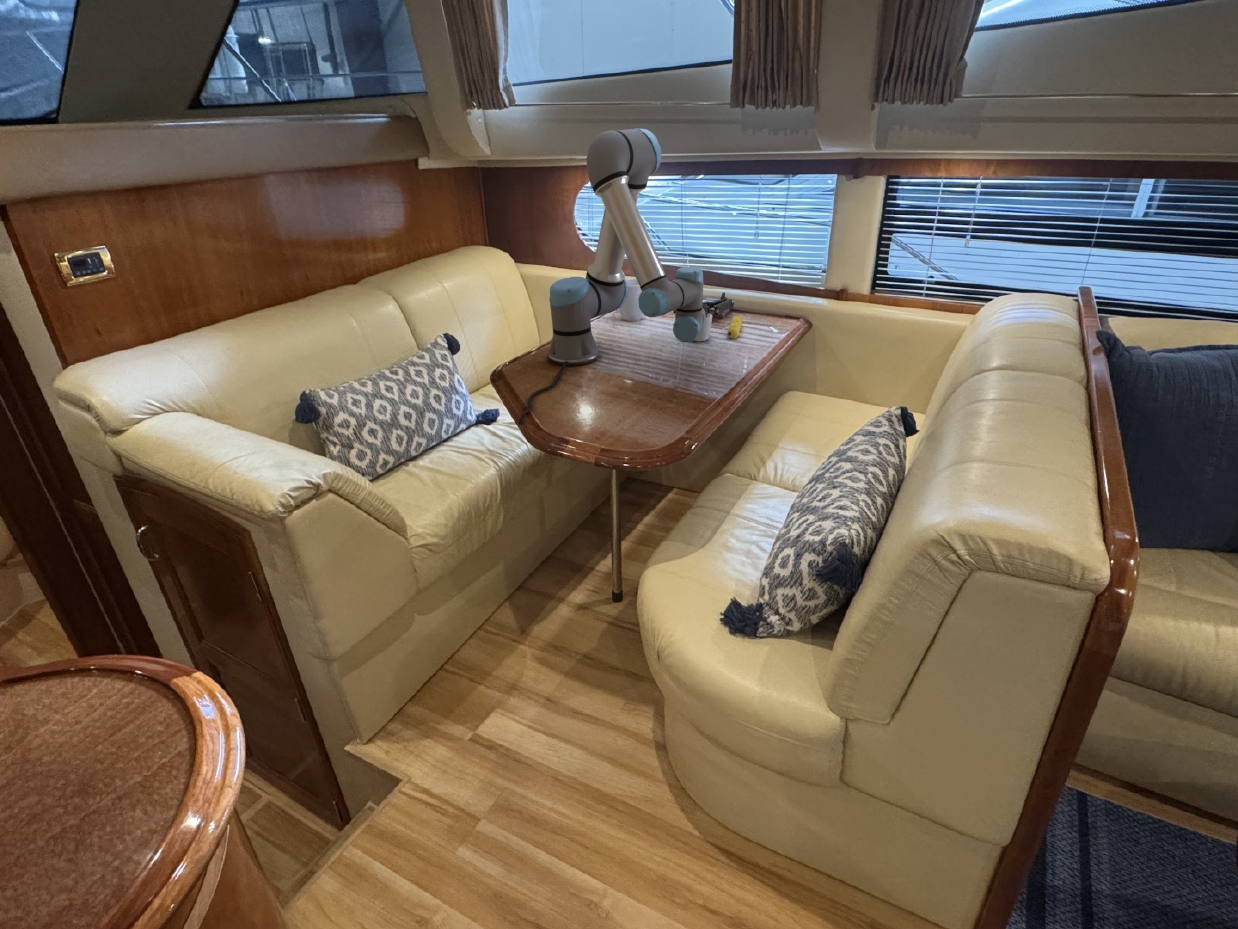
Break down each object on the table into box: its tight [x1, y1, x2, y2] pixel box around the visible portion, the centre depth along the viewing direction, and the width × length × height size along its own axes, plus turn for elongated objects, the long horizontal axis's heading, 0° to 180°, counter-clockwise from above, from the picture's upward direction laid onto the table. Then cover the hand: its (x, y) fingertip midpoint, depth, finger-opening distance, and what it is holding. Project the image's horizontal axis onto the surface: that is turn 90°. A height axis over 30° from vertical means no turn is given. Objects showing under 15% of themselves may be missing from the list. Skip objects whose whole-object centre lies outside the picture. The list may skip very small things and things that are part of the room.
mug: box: [615, 277, 645, 322], centre depth 237 cm, size 15×11×13 cm
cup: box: [692, 312, 713, 342], centre depth 215 cm, size 11×8×8 cm
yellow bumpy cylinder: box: [726, 315, 743, 339], centre depth 221 cm, size 17×4×4 cm, turn 166°
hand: (702, 295), depth 214 cm, fingers open, 13 cm apart
